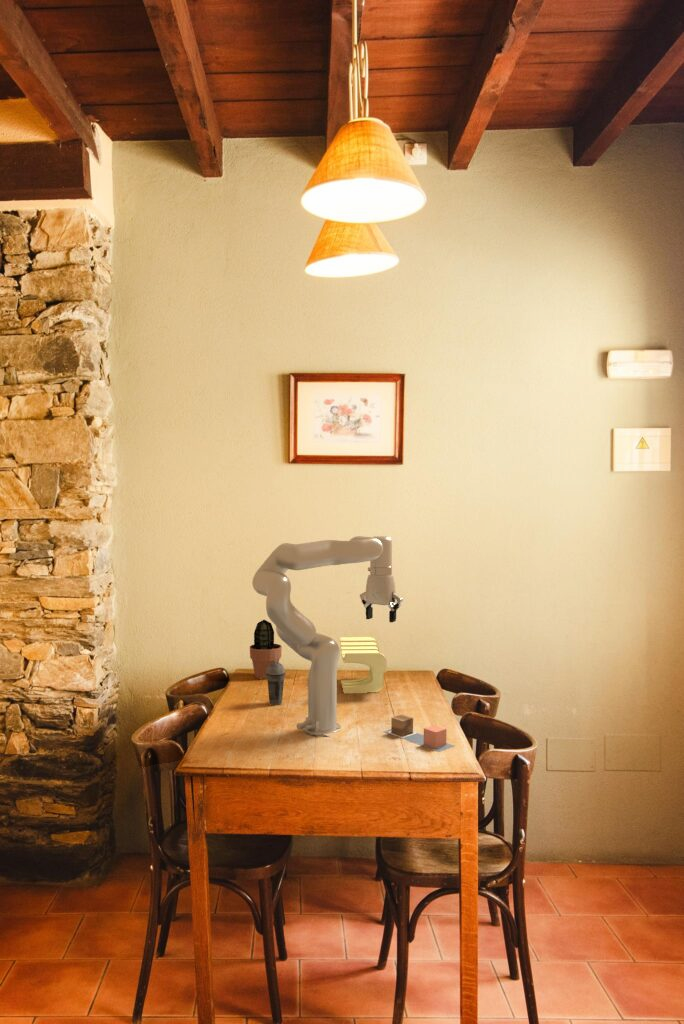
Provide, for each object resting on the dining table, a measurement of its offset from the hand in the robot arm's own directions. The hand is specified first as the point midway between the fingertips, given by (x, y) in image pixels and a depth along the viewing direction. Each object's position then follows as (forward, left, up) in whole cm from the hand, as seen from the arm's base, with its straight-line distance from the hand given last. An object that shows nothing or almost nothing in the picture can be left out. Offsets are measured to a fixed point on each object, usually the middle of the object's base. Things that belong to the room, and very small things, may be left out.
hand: (380, 620), depth 251 cm
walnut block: (-7, -17, -34) cm, 39 cm away
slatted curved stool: (+22, +32, -35) cm, 52 cm away
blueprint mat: (-7, -24, -35) cm, 43 cm away
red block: (-7, -31, -34) cm, 47 cm away
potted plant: (+3, +72, -35) cm, 80 cm away
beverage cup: (-17, +38, -35) cm, 55 cm away
